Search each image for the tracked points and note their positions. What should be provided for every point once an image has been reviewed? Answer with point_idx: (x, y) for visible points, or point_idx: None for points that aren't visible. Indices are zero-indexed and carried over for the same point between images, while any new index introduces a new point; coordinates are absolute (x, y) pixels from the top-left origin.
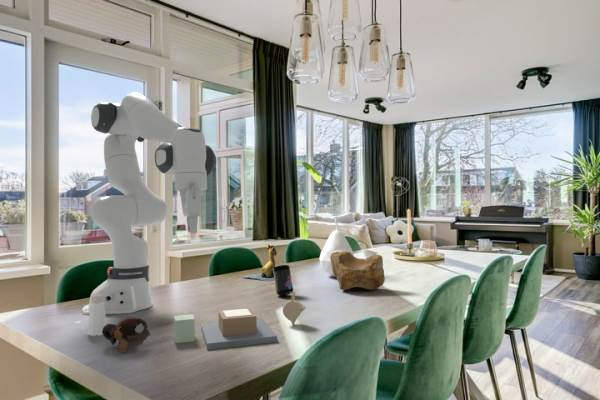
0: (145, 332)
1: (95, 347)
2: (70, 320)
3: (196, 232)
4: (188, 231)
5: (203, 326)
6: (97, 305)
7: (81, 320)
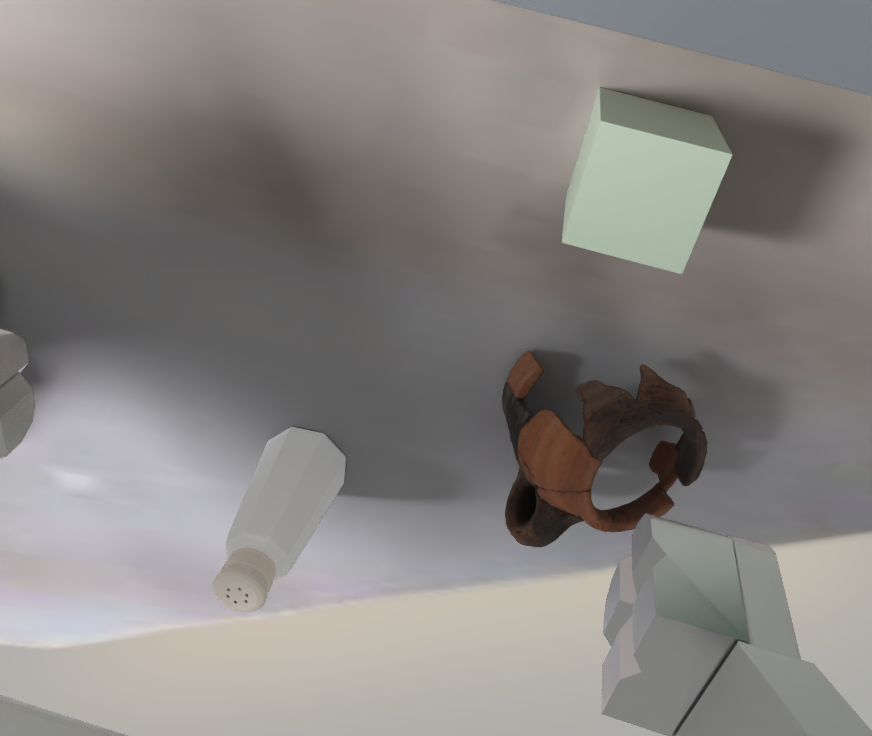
0: (685, 411)
1: (496, 498)
2: (45, 498)
3: (769, 555)
4: (26, 429)
5: (557, 3)
6: (288, 562)
7: (57, 468)
